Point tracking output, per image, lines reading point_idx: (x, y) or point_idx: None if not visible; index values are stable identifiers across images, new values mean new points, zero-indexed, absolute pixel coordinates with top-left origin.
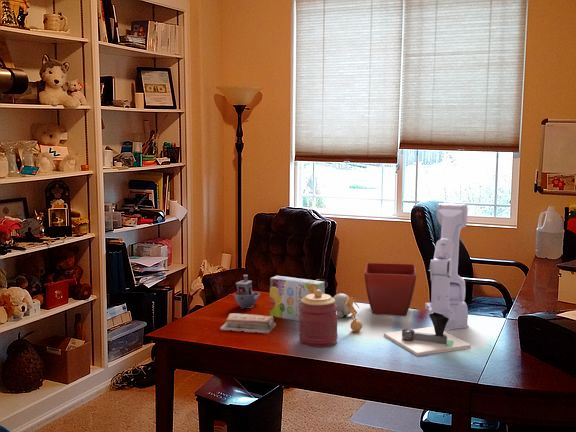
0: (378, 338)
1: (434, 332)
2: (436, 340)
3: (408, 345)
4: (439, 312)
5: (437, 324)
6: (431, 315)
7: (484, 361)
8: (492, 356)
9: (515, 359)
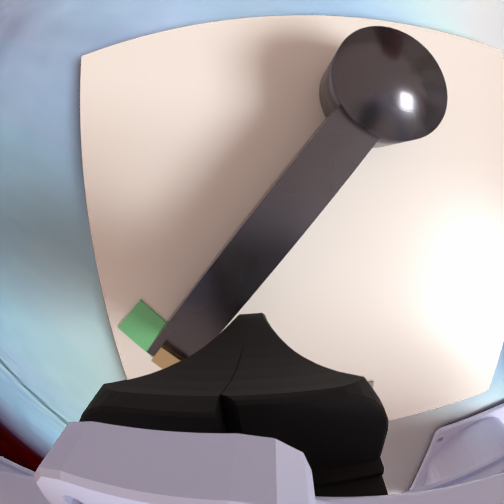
0: (457, 5)
1: (426, 363)
2: (200, 276)
3: (229, 39)
4: (3, 486)
5: (175, 366)
6: (276, 408)
7: (2, 357)
8: (51, 418)
9: (37, 446)
